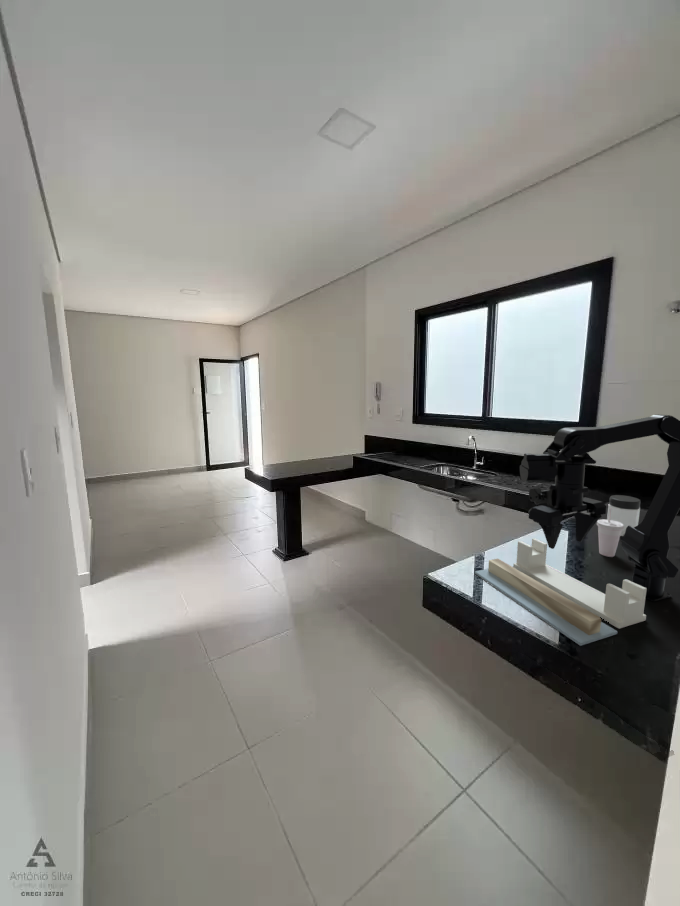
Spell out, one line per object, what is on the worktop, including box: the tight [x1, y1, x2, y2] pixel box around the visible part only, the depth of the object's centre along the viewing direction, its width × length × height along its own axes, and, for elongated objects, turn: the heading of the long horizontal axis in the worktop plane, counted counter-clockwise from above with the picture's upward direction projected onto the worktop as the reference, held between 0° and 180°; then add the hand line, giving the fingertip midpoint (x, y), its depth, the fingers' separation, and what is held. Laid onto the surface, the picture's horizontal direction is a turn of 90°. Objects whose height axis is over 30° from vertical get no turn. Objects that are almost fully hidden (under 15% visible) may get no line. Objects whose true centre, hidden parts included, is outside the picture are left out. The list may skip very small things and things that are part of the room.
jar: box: [606, 494, 641, 537], centre depth 123 cm, size 9×8×12 cm
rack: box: [512, 538, 647, 629], centre depth 88 cm, size 8×28×8 cm, turn 19°
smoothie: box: [596, 508, 624, 558], centre depth 107 cm, size 6×6×14 cm
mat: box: [474, 568, 618, 647], centre depth 85 cm, size 10×30×1 cm, turn 19°
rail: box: [487, 558, 602, 635], centre depth 85 cm, size 3×28×3 cm, turn 19°
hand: (565, 544), depth 88 cm, fingers open, 9 cm apart
